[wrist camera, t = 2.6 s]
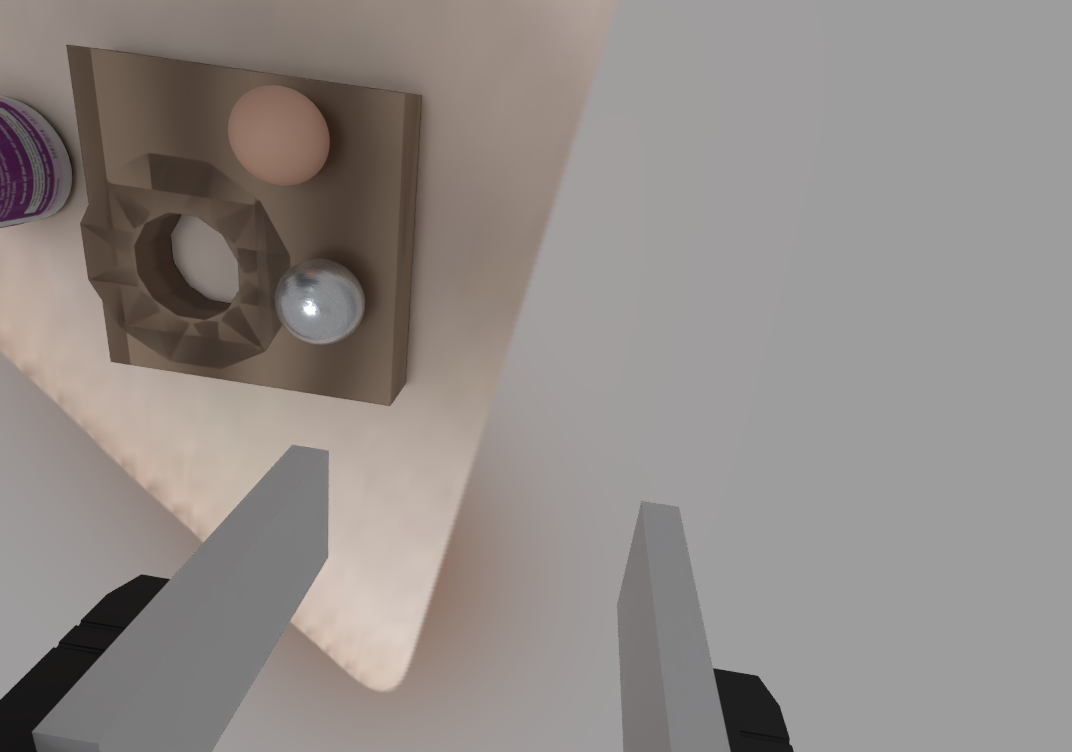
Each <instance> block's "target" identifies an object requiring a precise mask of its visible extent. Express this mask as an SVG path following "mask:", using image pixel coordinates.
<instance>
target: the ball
mask: <svg viewBox="0 0 1072 752" xmlns="http://www.w3.org/2000/svg"><path fill="white" fill-rule="evenodd" d="M275 308H276V312H277V315H278V317H279V319H280V321H281V323H282V324H283V326H284V327H285V328H286V330H287V331H289V332H290V333H291V334H292V335H293V336H295V337H296V338H298V339H300V340H302V341H304V342H307V343H311V344H316V345H328V344H333V343H336V342H339V341H341V340H343V339H345V338H346V337H348V336H349V335H351V334H352V333H353V332H354V331H355V330H356V328H357V327H358V326H359V324H360V322H361V320H362V318H363V315H364V311H365V296H364V291H363V288H362V286H361V284H360V282H359V280H358V279H357V278H356V276H355V275H354V274H353V273H352V272H351V271H350V270H349V269H348V268H346V267H345V266H343V265H341V264H339V263H337V262H334V261H332V260H327V259H309V260H305V261H303V262H300V263H298V264H296V265H294V266H293V267H291V268H290V269H289V270H288V271H287V272H286V273H285V274H284V275H283V277H282V278H281V279H280V281H279V283H278V286H277V289H276V293H275Z"/></svg>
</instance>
